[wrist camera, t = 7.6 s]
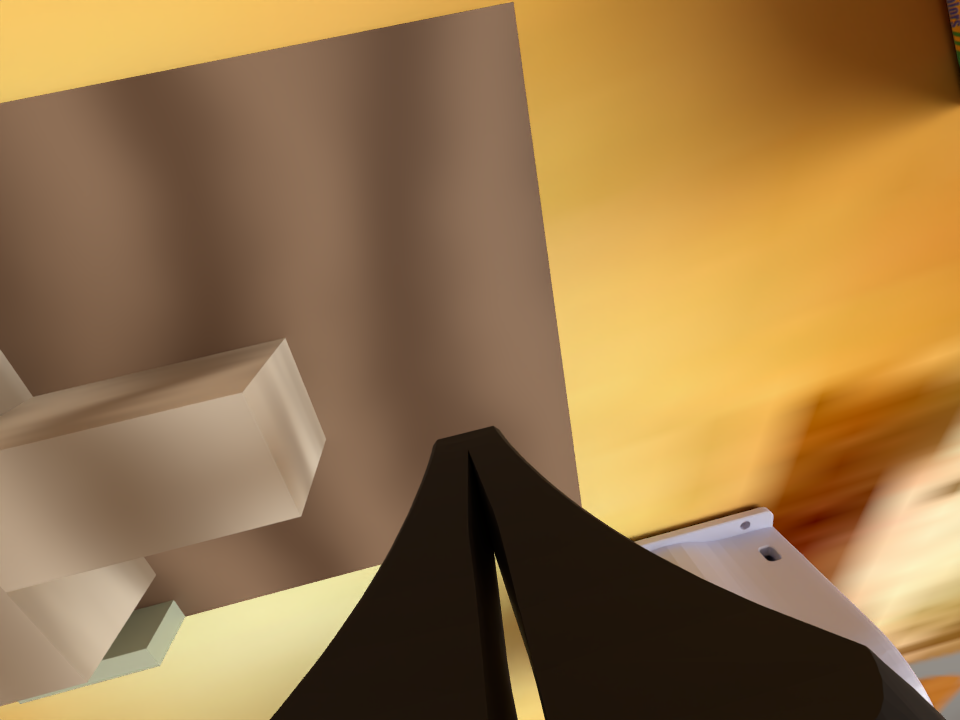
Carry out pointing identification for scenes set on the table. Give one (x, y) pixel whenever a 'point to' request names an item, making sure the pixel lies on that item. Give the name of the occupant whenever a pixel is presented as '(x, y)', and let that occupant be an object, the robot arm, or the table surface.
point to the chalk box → (955, 23)
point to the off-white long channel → (136, 644)
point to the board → (300, 265)
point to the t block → (134, 493)
